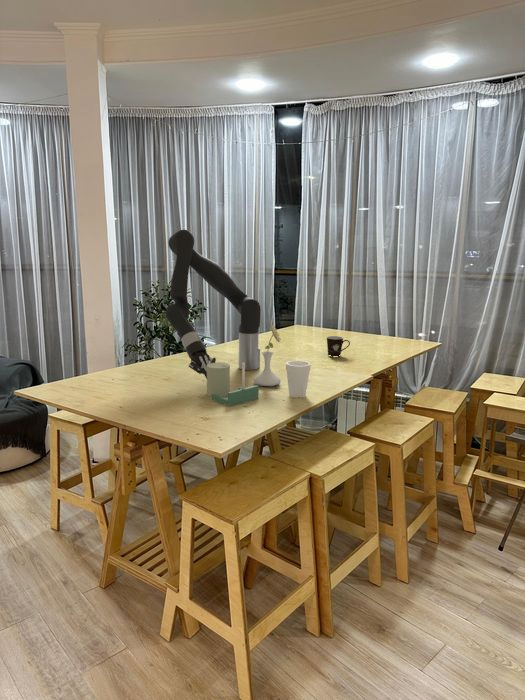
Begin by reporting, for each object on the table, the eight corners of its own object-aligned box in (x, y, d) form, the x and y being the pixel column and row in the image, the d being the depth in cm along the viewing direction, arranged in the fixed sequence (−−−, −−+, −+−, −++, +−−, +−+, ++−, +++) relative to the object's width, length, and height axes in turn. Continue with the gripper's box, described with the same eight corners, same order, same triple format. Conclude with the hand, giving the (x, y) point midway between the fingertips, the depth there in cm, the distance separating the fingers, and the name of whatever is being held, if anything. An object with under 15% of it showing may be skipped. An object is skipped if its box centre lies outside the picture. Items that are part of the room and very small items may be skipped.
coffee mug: (324, 357, 260) (324, 338, 258) (328, 353, 268) (329, 335, 266) (346, 359, 256) (347, 340, 254) (349, 355, 264) (350, 337, 261)
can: (224, 398, 190) (224, 368, 187) (202, 395, 193) (202, 365, 190) (233, 391, 198) (233, 362, 196) (212, 389, 202) (212, 360, 199)
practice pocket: (211, 399, 188) (211, 361, 185) (240, 392, 198) (240, 355, 195) (229, 406, 181) (229, 366, 178) (258, 398, 191) (258, 360, 187)
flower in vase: (271, 390, 201) (272, 329, 196) (248, 385, 207) (248, 326, 202) (287, 382, 212) (288, 324, 207) (264, 378, 218) (265, 322, 213)
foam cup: (293, 400, 189) (293, 367, 186) (280, 393, 197) (281, 362, 194) (314, 397, 193) (315, 364, 190) (301, 390, 201) (302, 359, 198)
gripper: (183, 342, 198) (202, 378, 192) (210, 338, 206) (228, 372, 200) (176, 352, 203) (194, 388, 197) (202, 348, 211) (220, 382, 205)
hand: (211, 380), depth 198 cm, fingers closed
